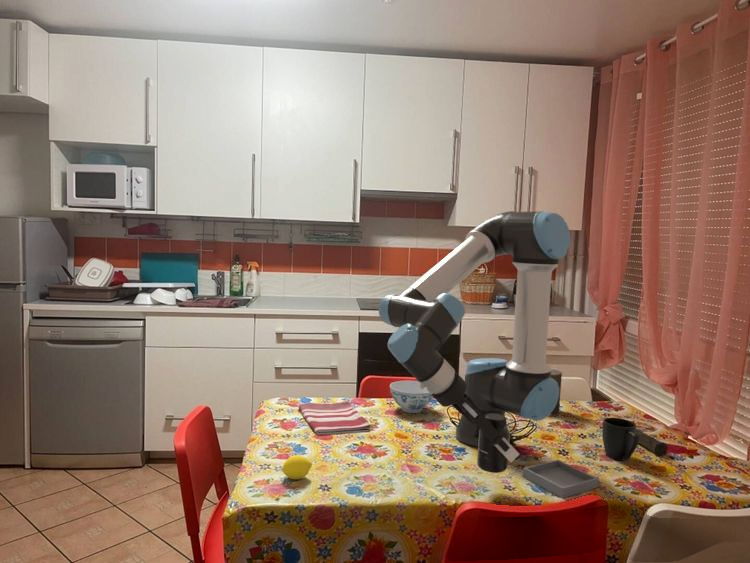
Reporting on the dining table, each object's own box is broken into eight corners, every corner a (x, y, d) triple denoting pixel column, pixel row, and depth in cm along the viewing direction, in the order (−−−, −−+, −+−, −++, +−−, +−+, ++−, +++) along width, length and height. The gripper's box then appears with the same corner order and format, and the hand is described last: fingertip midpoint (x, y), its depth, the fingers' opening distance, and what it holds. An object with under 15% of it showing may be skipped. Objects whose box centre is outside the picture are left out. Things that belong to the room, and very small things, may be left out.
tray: (522, 476, 139) (523, 467, 139) (557, 468, 145) (557, 459, 145) (561, 497, 128) (562, 488, 128) (597, 487, 135) (598, 478, 135)
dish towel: (348, 407, 188) (349, 399, 187) (372, 432, 166) (372, 423, 165) (298, 410, 182) (298, 402, 182) (315, 437, 160) (315, 427, 160)
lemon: (284, 486, 129) (282, 463, 128) (281, 476, 134) (279, 454, 133) (315, 480, 131) (313, 457, 130) (311, 470, 136) (309, 448, 135)
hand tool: (667, 457, 157) (669, 440, 157) (654, 457, 156) (656, 440, 156) (627, 432, 176) (629, 418, 175) (615, 432, 175) (617, 418, 175)
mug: (618, 468, 147) (621, 432, 146) (594, 450, 159) (597, 417, 158) (648, 468, 148) (651, 432, 147) (622, 450, 160) (625, 417, 159)
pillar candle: (565, 414, 190) (568, 370, 189) (540, 416, 187) (543, 371, 186) (547, 405, 199) (550, 363, 198) (523, 407, 196) (526, 364, 195)
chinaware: (391, 401, 196) (392, 379, 195) (435, 405, 193) (436, 382, 193) (386, 414, 181) (387, 390, 180) (433, 419, 179) (435, 395, 178)
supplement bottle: (474, 470, 129) (477, 418, 127) (480, 459, 135) (483, 409, 134) (504, 476, 126) (508, 423, 125) (509, 464, 132) (512, 414, 131)
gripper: (419, 382, 135) (480, 446, 140) (444, 409, 116) (514, 482, 121) (442, 360, 136) (502, 424, 141) (470, 383, 117) (539, 456, 121)
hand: (507, 451), depth 131 cm, fingers closed on supplement bottle, 7 cm apart
